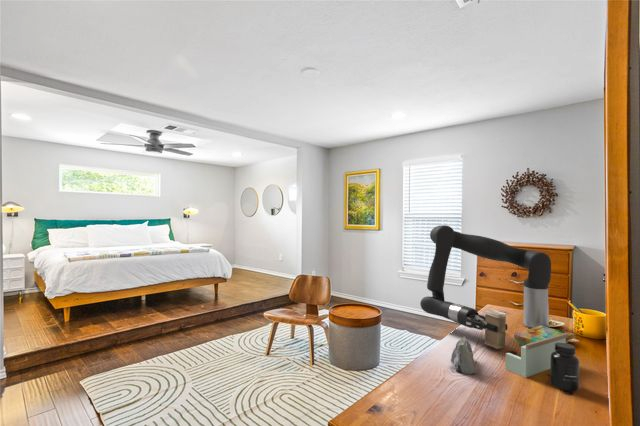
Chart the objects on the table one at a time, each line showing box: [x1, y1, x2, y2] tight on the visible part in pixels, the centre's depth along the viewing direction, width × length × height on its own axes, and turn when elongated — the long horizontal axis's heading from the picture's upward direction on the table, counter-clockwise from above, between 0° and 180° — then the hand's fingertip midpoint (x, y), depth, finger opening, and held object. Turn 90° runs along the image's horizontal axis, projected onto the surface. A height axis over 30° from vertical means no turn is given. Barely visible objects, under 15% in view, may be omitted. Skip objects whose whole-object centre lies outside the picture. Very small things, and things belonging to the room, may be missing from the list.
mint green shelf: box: [505, 332, 569, 378], centre depth 112 cm, size 22×9×10 cm, turn 117°
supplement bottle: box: [549, 342, 580, 393], centre depth 98 cm, size 7×7×12 cm
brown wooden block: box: [484, 309, 507, 350], centre depth 124 cm, size 5×5×12 cm
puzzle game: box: [513, 326, 575, 346], centre depth 130 cm, size 12×5×20 cm
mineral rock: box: [450, 336, 476, 375], centre depth 111 cm, size 13×11×10 cm
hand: (502, 328), depth 122 cm, fingers closed on brown wooden block, 4 cm apart
